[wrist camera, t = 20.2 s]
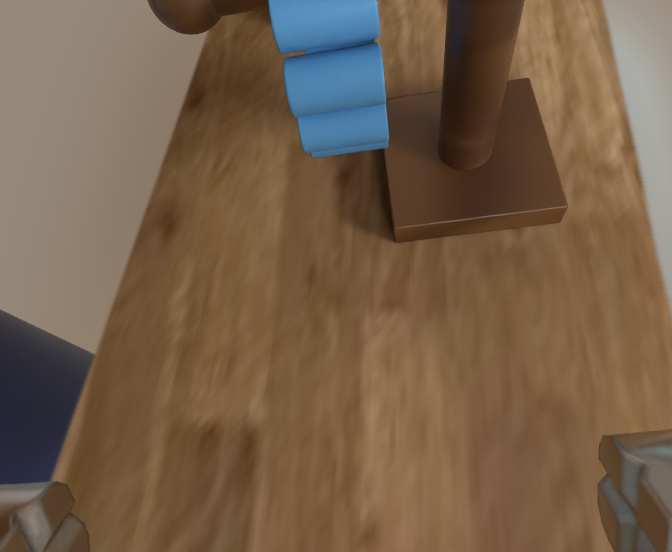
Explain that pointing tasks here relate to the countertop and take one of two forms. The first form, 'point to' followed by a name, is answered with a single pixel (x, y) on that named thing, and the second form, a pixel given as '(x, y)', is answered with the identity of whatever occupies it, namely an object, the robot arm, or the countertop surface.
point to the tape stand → (450, 128)
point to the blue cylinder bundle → (333, 73)
